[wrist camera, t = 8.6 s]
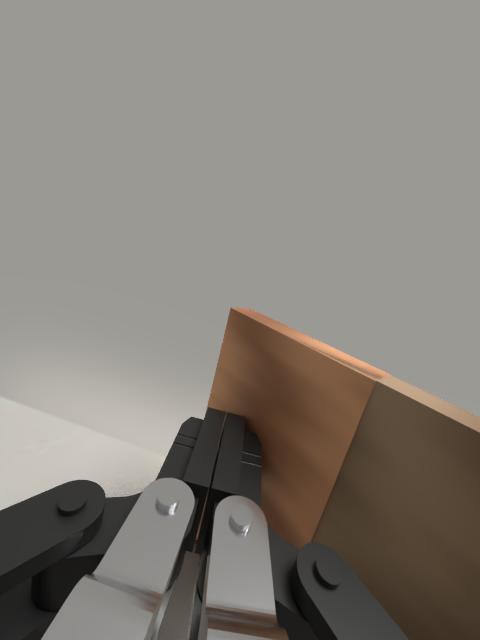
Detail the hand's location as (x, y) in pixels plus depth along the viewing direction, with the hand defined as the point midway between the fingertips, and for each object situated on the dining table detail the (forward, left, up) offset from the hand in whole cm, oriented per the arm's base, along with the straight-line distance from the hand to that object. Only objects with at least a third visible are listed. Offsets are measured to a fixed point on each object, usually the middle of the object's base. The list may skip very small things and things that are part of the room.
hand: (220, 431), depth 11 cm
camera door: (-8, +6, -6) cm, 12 cm away
